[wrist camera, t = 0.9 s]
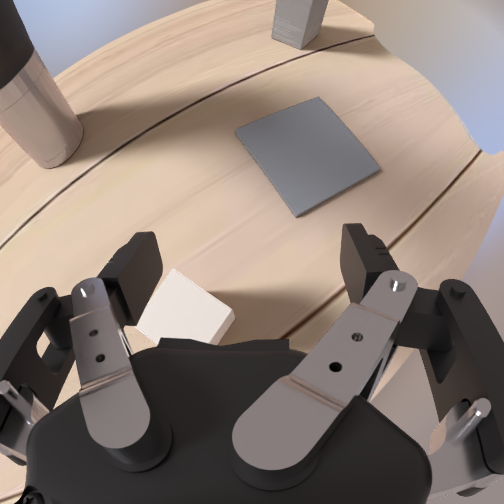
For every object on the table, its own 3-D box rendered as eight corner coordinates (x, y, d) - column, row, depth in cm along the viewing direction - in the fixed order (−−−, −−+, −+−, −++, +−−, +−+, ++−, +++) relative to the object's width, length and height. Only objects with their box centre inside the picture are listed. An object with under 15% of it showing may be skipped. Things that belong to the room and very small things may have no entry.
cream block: (171, 328, 31) (132, 325, 19) (197, 291, 32) (173, 267, 21) (209, 356, 30) (190, 369, 19) (235, 317, 32) (232, 309, 20)
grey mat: (235, 133, 38) (234, 129, 37) (317, 100, 40) (318, 96, 39) (295, 217, 35) (296, 215, 34) (378, 171, 37) (380, 168, 36)
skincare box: (290, 23, 46) (300, -41, 31) (323, 36, 45) (339, -29, 30) (268, 39, 44) (275, -33, 29) (303, 53, 43) (319, -21, 28)
